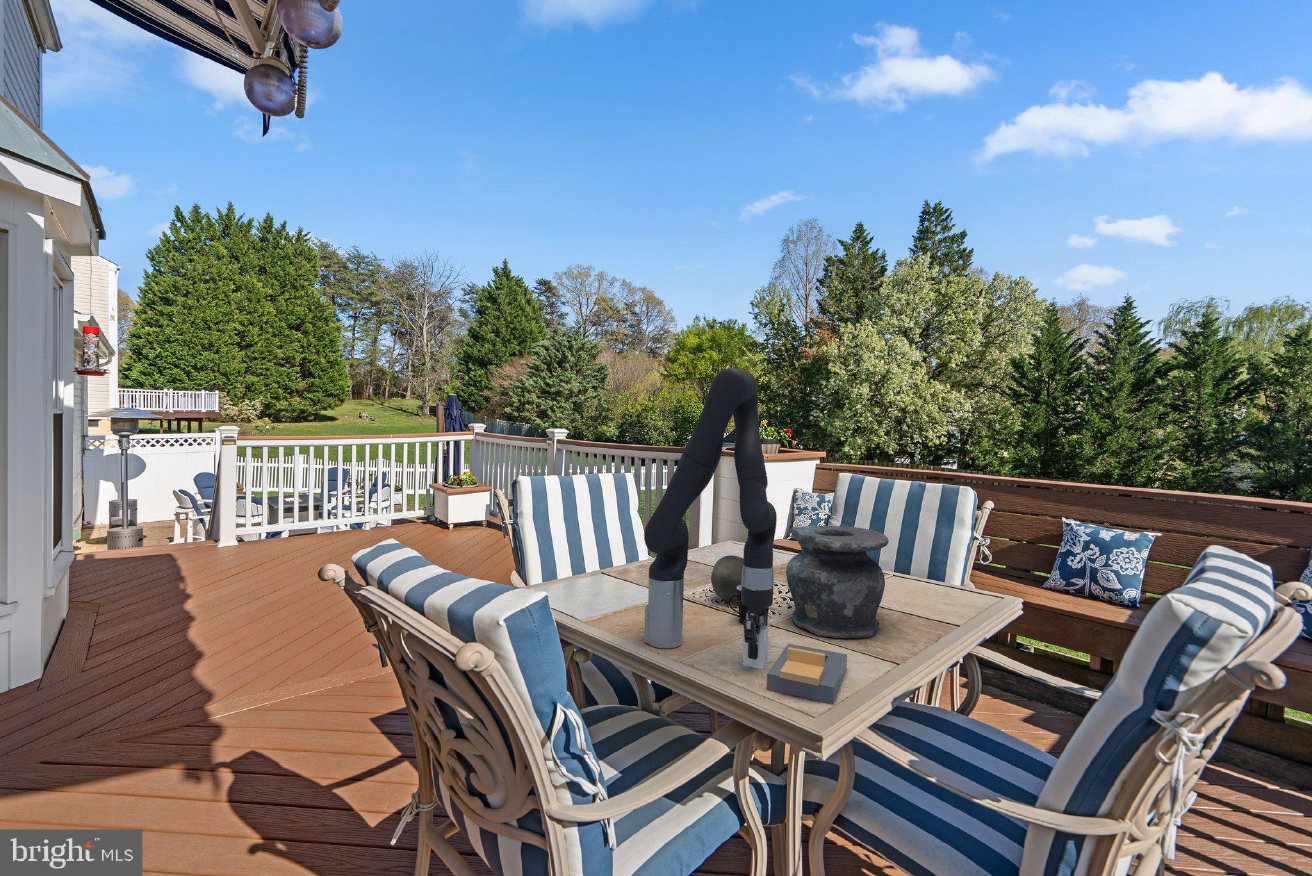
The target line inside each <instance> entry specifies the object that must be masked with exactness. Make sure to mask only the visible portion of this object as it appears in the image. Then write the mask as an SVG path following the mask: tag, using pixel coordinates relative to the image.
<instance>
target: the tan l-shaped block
mask: <svg viewBox="0 0 1312 876" xmlns="http://www.w3.org/2000/svg"><path fill="white" fill-rule="evenodd" d="M824 672H825V654H823V653H818V652H813V651H807V650H802V649H797V648H791V647H789V648H788V655H787V661H786V663H785V664H784V666H783V667H782V669H781V670H780V678H784V679H789V680H794V681H798V682H803V683H808V684H813V685H817V686H818V685H819V683H820V681H821V678H822V676H823V674H824Z"/></svg>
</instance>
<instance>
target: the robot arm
mask: <svg viewBox="0 0 1312 876" xmlns="http://www.w3.org/2000/svg"><path fill="white" fill-rule="evenodd" d="M732 417H733V421H734V432H735V433H734V435H735V436H734V449H733V450H734V451H733V453H734V455H733V459H734V467H735V472H736V473H735V474H736V478H737V482H738V486H739V487H738V488H739V513H740V518H741V522H742V524H743V525H744V527H745V528H746V530H747V539H746V541H745V543H744V547H743V557H742V558H743V570H742V589H741V602H742V603H743V604H744V605H746V606H748V608H749V609H748V612H747V614H746V619H747V620H744V621H743V624H742V626H743V636H744V637H745V642H746V643H748V658H750V659H754V660H756V659H757V658H758V642H759V641H758V640H759V634H760V633H761V630H762V626H764V627H765V626H768V618H769V611H770V609H769V608H770V607H771V606H773V602H774V569H773V568H774V567H773V566H774V544H775V543H774V541H775V536H776V530H777V521H778V519H777V517H778V516H777V510H776V508H775V506H774V505H773V504H772V503H771V502H769V501H768V497H767V488H768V483H769V481H768V476H767V470H766V465H765V464H766V463H765V460H764V459H765V458H764V453H763V448H762V442H761V440H762V439H761V434H760V433H761V432H760V421H759V397H758V382H757V380H756V378H755V376H754V375H753V374H752V373H751V372H749V371H747V370H744V369H740V368H737V367H726V368H724V369H722V370H720V371H719V372H718V373H716V375H715V376H714V378H713V379H712V382H711V385H710V387H709V390H708V393H707V396H706V399H705V402H704V406H703V407H702V410H701V413H700V416H699V419H698V420H697V422H696V424H695V426H694V429H693V431H692V433H691V435H690V437H689V439H688V442H687V444H686V446H684V449H683V452H682V454H681V456H680V458H679V460H678V463H677V465H676V467H675V470H674V473H673V475H672V477H671V478H670V480H669V483H668V485H667V487H666V489H665V492H664V494H663V496H662V498H661V500H660V501H659V503H658V504H657V507H656V509H654V511H653V513H652V515H651V517H650V518H649V520H648V522H647V524H646V526H645V529H644V532H643V539H644V544H645V546H646V547H647V550H648V551H650V552H652V553H654V554H656V556H655V558H654V560H653V562H652V563H651V564H650V565H649V567H648V595H647V597H648V598H647V599H648V600H647V603H648V604H647V605H645V606H644V631H643V632H644V634H643V635H644V636H643V637H644V638H643V640H644V641H643V642H644V643H646V644H648V645H649V644H650V645H649V646H651V647H654V648H658V649H674V648H677V647H680V646H681V645H682V644H683V632H684V630H683V627H684V626H683V625H684V622H683V620H684V591H685V590H684V589H685V587H684V586H685V585H684V583H685V580H684V579H685V570H686V569H687V565H688V559H689V555H688V554H689V545H690V544H689V540H690V536H689V535H690V534H689V528H688V525H687V522H686V521H685V520H684V519H683V518H684V516H685V514H686V513H687V511H688V509H689V508H690V507H691V505H692V504H693V503H694V502H695V501H696V500H697V499H698V498H699V496H700V495H701V494H702V493H703V492H704V490H705V489H706V488H707V486H708V485H709V483H710V482H711V480H712V478H713V476H714V474H715V471H716V470H717V468H718V465H719V464H720V460H721V457H722V452H723V445H724V437H725V433H726V430H727V427H728V424H729V423H730V421H731V418H732ZM755 628H757V629H758V630H756V629H755ZM751 636H752V637H753V638H751Z"/></svg>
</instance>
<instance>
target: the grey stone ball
mask: <svg viewBox="0 0 1312 876" xmlns="http://www.w3.org/2000/svg"><path fill="white" fill-rule="evenodd" d="M742 570H743V557H741V556H737V555H733V554H732V555H730V554H729V555H726V556H722V557H721V558H719V559H718V560H717V561H716V562H715V563H714V565H713V569H712V572H711V576H710V581H711V583H710V584H711V586H712V589H713V591H714V593H715V594H716V596H717V597H718V598H720V599H721V600H723V601H725V602H728V601H729V598H730V597H731V596H732V595H737V586H740V585H742ZM734 602H738V598H737V597H733V598H732V599H731V601H730V603H734Z"/></svg>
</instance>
